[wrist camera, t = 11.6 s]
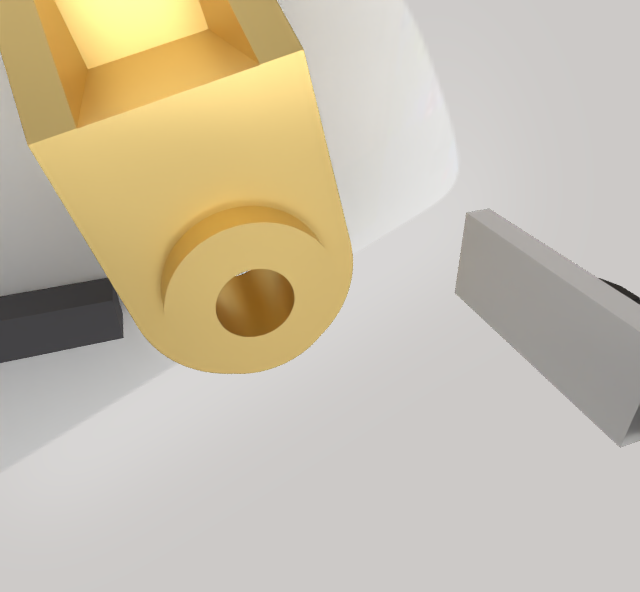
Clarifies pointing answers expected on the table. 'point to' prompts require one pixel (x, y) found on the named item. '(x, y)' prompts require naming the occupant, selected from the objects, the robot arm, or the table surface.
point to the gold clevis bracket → (188, 168)
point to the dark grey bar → (59, 319)
